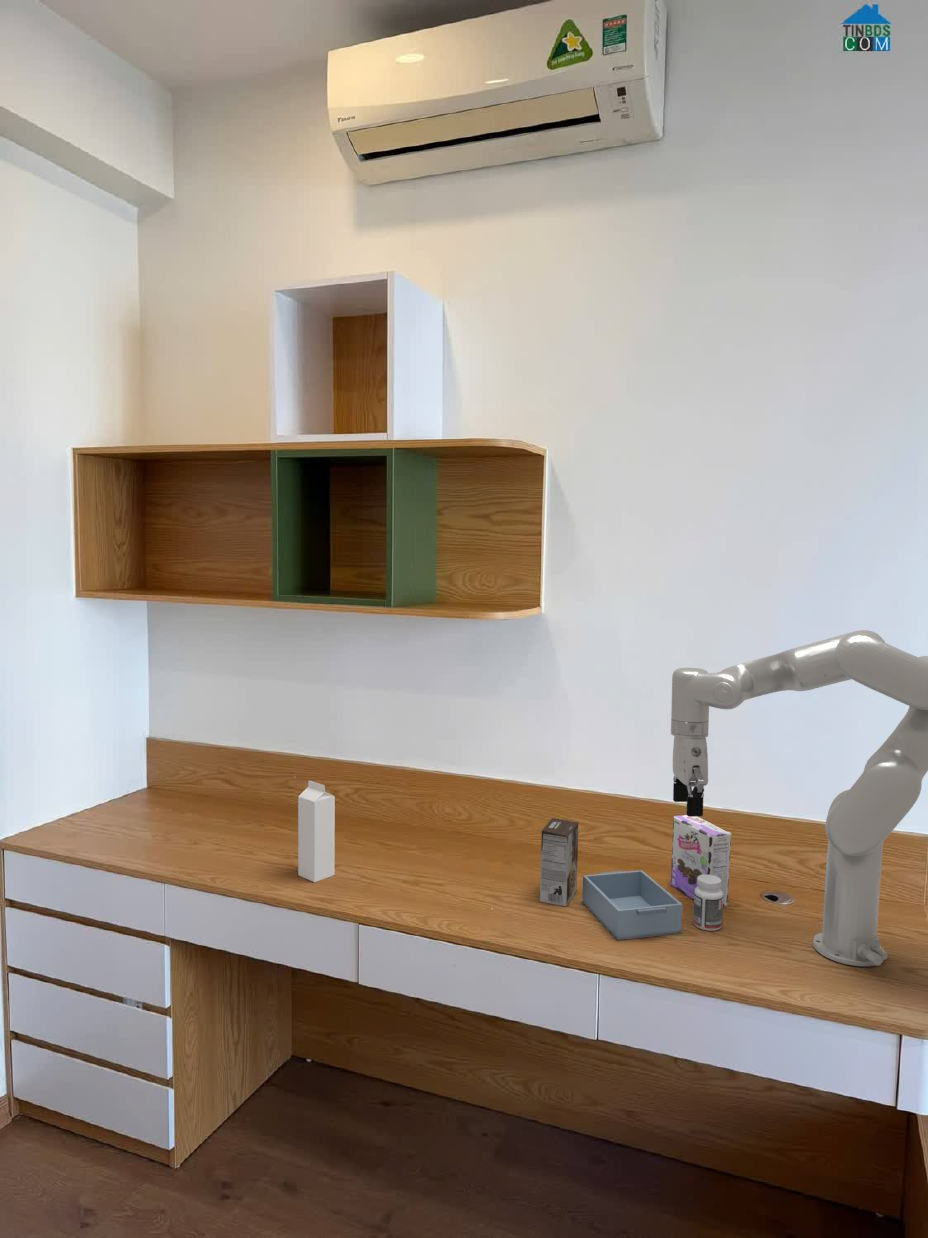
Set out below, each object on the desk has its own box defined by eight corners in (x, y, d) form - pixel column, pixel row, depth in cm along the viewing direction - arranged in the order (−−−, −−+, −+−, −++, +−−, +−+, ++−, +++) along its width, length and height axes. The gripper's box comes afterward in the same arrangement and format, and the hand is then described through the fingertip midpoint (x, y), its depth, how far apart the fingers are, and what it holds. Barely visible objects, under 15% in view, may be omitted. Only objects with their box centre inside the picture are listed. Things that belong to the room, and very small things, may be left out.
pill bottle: (724, 923, 174) (727, 877, 173) (718, 934, 169) (720, 886, 168) (697, 917, 177) (699, 871, 176) (689, 927, 172) (691, 880, 171)
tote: (683, 935, 169) (685, 906, 168) (619, 942, 165) (620, 913, 165) (639, 894, 188) (640, 868, 187) (580, 900, 184) (581, 874, 184)
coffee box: (549, 886, 192) (551, 817, 190) (577, 891, 189) (579, 821, 188) (538, 902, 183) (540, 830, 182) (567, 907, 181) (569, 834, 179)
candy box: (669, 885, 194) (672, 815, 192) (690, 881, 196) (693, 812, 194) (706, 909, 181) (709, 835, 179) (729, 906, 183) (732, 832, 181)
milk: (314, 883, 192) (314, 788, 189) (297, 875, 195) (297, 783, 193) (335, 875, 196) (335, 782, 194) (318, 868, 200) (318, 777, 198)
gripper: (721, 737, 166) (719, 822, 168) (694, 719, 183) (692, 796, 185) (683, 737, 166) (681, 822, 167) (660, 719, 183) (658, 796, 184)
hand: (687, 808), depth 176 cm, fingers open, 9 cm apart
